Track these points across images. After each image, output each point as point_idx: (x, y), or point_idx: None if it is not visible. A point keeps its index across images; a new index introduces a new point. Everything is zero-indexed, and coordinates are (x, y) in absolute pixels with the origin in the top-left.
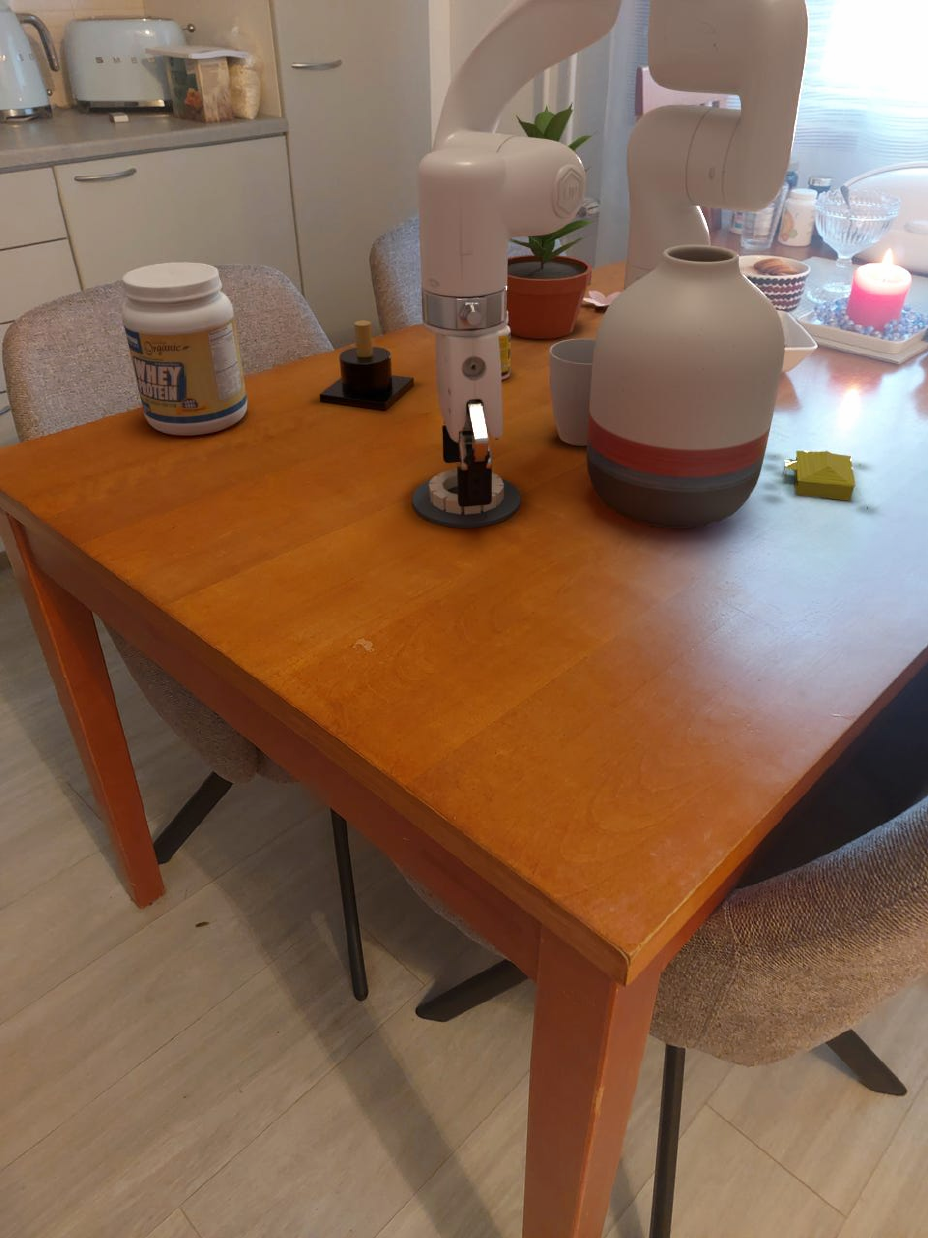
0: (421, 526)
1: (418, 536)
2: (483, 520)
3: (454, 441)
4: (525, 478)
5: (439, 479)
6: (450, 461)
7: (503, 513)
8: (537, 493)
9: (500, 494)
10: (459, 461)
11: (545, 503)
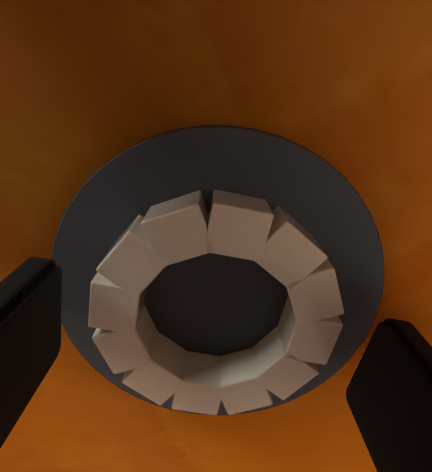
0: (290, 410)
1: (328, 424)
2: (369, 304)
3: (12, 391)
4: (123, 38)
5: (155, 381)
6: (58, 339)
7: (367, 242)
8: (259, 49)
9: (312, 240)
10: (59, 309)
11: (345, 55)
